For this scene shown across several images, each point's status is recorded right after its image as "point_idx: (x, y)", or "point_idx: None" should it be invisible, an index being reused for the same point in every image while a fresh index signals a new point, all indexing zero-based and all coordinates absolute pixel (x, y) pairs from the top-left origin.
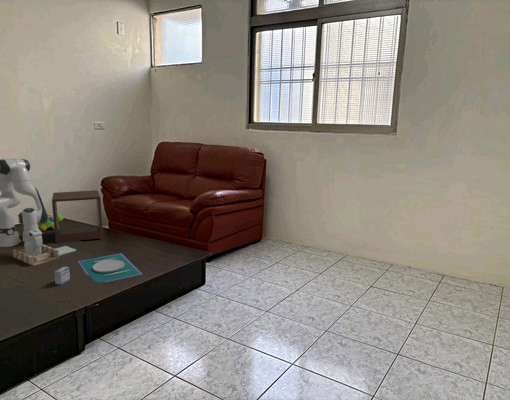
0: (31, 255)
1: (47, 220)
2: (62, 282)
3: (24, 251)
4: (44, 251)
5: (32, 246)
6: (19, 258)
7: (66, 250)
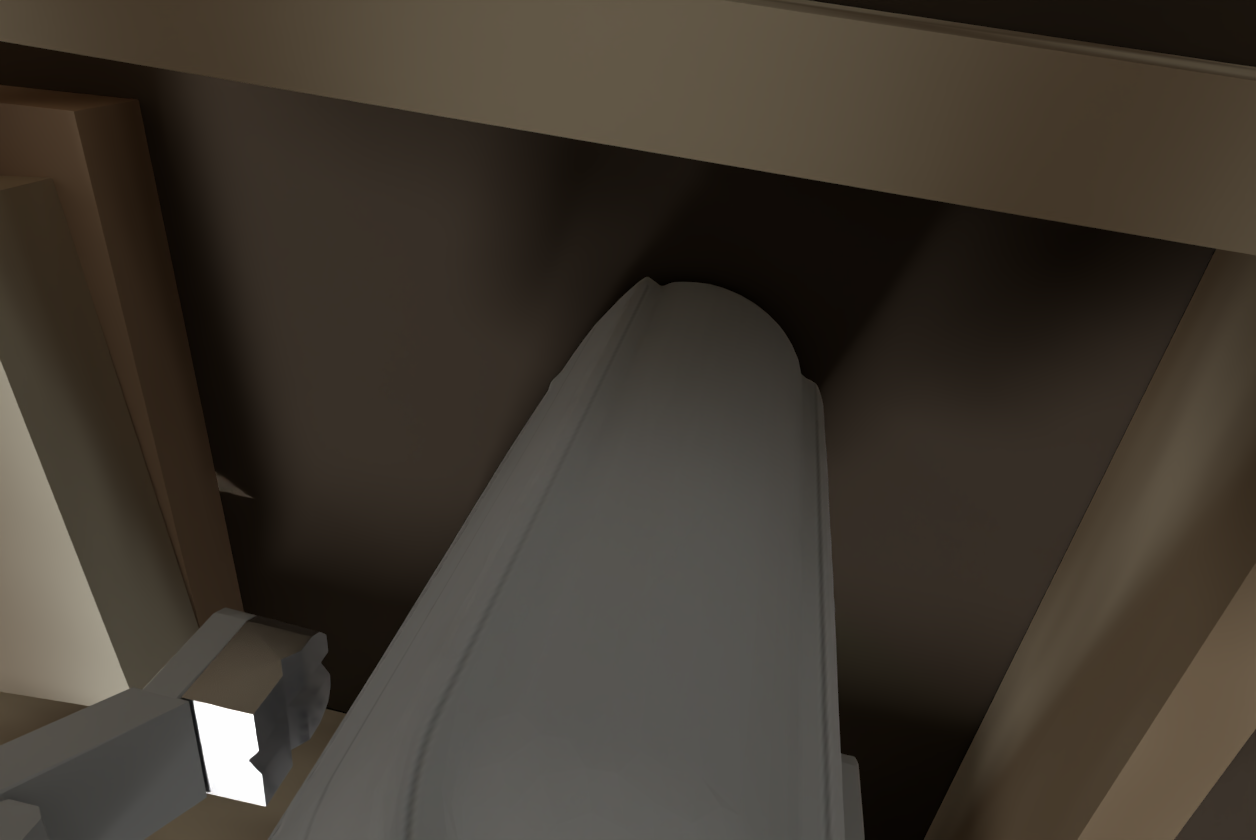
0: (513, 444)
1: None
2: None
3: (1143, 609)
4: None
5: (269, 836)
6: None
7: None
